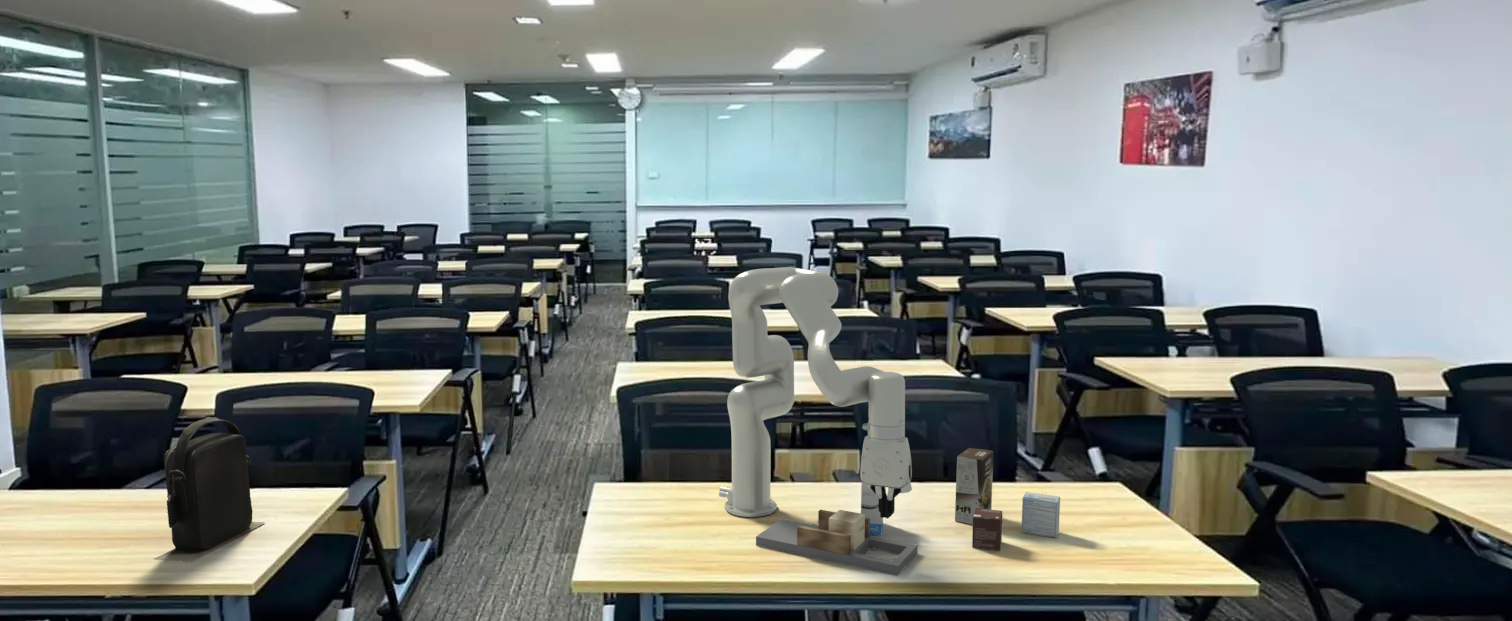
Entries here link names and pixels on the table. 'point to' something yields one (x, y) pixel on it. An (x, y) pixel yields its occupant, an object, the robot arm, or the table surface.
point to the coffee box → (973, 483)
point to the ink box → (871, 510)
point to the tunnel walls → (827, 535)
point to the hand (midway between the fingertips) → (886, 515)
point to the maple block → (849, 526)
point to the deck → (786, 540)
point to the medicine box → (1040, 514)
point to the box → (987, 529)
